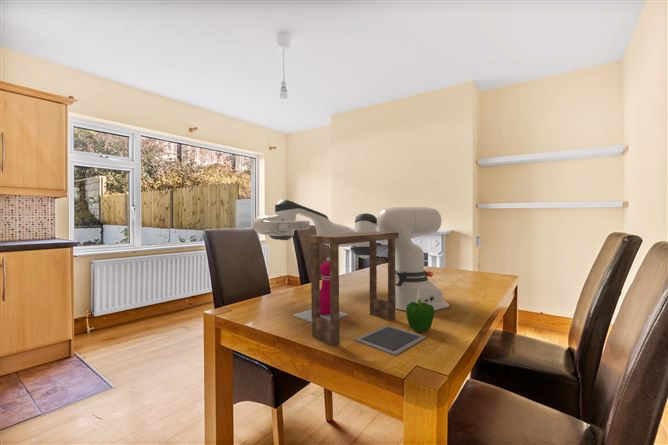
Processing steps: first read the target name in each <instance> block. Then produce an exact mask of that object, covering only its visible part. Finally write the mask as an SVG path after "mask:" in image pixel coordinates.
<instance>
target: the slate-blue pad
mask: <svg viewBox="0 0 668 445" xmlns="http://www.w3.org/2000/svg"><path fill="white" fill-rule="evenodd" d="M292 315H293V317H296V318H299V319H300V320H303V321H306V322H309V323H311V324H312V308H311V309H308V310H305V311H304V310H303V311H301V312H298V313H295V314H292ZM347 316H349V314H348V313H345V312H342V311H339V319H342V318H344V317H347ZM320 317H323V318H326V319H329V320H330V315H325V314H320Z"/></svg>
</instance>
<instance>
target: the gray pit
mask: <svg viewBox="0 0 668 445" xmlns="http://www.w3.org/2000/svg"><path fill="white" fill-rule="evenodd" d="M425 339H427V336H425V335H421V334H418V333H417V332H416V333H415V332H412V331H408V330H404V329H402V328H398V327H395V326H393V325H392V326H391V325H390V324H389V325H388V324H386V325H383V326H381V327H379V328H376V329H375V330H374V329H373V331H370V332H368V333H365V334H363V335H361V336H359V337H356V338H354V339H353V340H354V341H355V342H357V343H360V344H363V345H366V346H368V347H371V348H373V349H376V350H379V351H381V352H384V353H387V354H389V355H392V356H395V357H396V356H398V355H399V354H401V353H403V352H405V351H407V350H408V349H410V348H411V347H413V346H415V345H417V344H419V343H421V342H423V340H425Z"/></svg>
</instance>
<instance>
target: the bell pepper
mask: <svg viewBox="0 0 668 445" xmlns="http://www.w3.org/2000/svg"><path fill="white" fill-rule="evenodd" d="M405 315H406V320H407V323H408V327H409V328H410V329H411V330H413V331H415V332H416V333H426V332H428V331H429V330H430V329H431V328H432V325H433V319H434V317H435V310H434V308H433V306H432V305H428V304H427V303H425V302H423V303H421V299H418V303H415V302H411V303H410V304H408V305H407V307H406V311H405Z"/></svg>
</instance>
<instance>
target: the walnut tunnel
mask: <svg viewBox="0 0 668 445" xmlns="http://www.w3.org/2000/svg"><path fill="white" fill-rule="evenodd" d="M306 238H307V239H306V240H307V242H306V243H310V267H311V268H310V277H311V278H310V279H311V280H310V281H311V284H310V286H311V289H310V290H311V295H310V296H311V309H312V323H311V337H313V338H315V339H317V340H320V341H323V342H325V343H327V344H329V345H332V346H334V347H337V346H340V318H339V312H340V269H339V268H340V265H339V264H340V261H339V260H340V255H339V253H340V252H339V250H340V249H339V248H340V247H339V245H340V244H349V243H359V242H368V241H369V258H368V259H369V316H374V317H378V318H381V319H384V320H388V321H391V322H395V321H396V319H397V318H396V314H397V313H396V310H397V309H396V290H395V239H397V238H399V232H374V231H369V232H354V233H339V234H324V235H317V234H312V235H307V237H306ZM378 240H388V245H387V300H386V299H381V298H378V296H377V295H378V294H377V293H378V290H377V288H378V286H377V285H378V283H377V282H378V281H377V278H378V276H377V275H378V274H377V273H378V272H377V271H378V269H377V265H378V264H377V244H376V241H377V242H378ZM320 244H321V245H322V244H323V245H325V244H330V246H329V258H330V320H329V319H326V318H323V317H320V290H321V286H320V285H321V284H320V282H321V281H320V279H321V275H320V273H321V271H320Z"/></svg>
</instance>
